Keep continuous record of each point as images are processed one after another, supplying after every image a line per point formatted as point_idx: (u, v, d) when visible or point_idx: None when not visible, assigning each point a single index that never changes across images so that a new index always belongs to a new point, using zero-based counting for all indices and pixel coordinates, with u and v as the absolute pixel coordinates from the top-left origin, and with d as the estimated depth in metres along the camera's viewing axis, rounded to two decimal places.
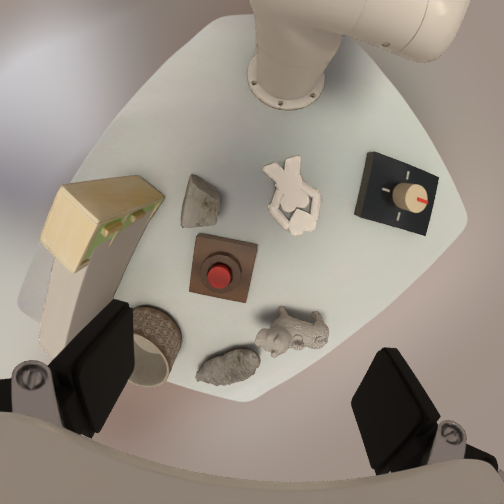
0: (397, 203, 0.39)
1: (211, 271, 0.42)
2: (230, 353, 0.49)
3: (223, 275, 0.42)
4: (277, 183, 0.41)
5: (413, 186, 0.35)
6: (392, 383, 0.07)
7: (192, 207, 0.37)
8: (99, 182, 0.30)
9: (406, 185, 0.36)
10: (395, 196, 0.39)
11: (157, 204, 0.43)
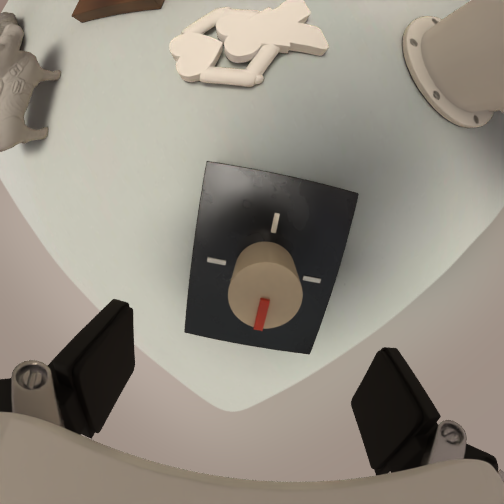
0: (246, 252, 0.19)
1: None
2: None
3: None
4: (271, 10, 0.15)
5: (297, 285, 0.16)
6: (392, 383, 0.07)
7: None
8: None
9: (294, 268, 0.17)
10: (262, 245, 0.18)
11: None
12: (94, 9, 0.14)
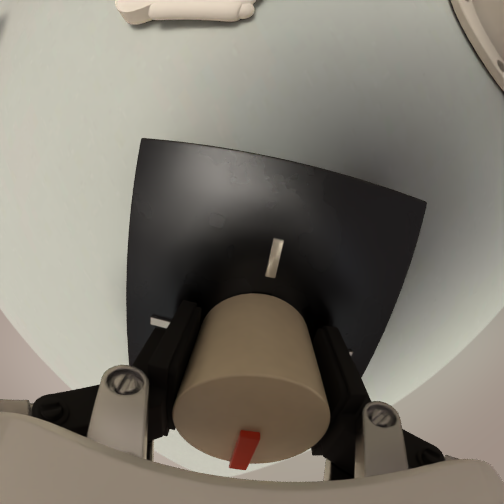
0: (215, 318, 0.09)
1: None
2: None
3: None
4: None
5: (320, 410, 0.06)
6: (325, 359, 0.08)
7: None
8: None
9: (314, 364, 0.07)
10: (246, 307, 0.09)
11: None
12: None
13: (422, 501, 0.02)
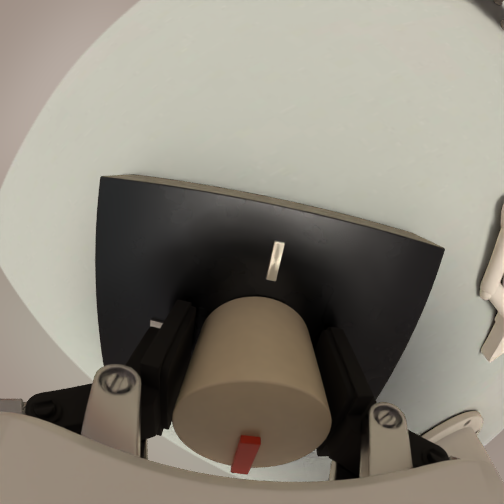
0: (214, 322, 0.09)
1: None
2: None
3: None
4: None
5: (321, 415, 0.06)
6: (330, 360, 0.08)
7: None
8: None
9: (314, 367, 0.07)
10: (246, 311, 0.09)
11: None
12: None
13: (422, 501, 0.02)
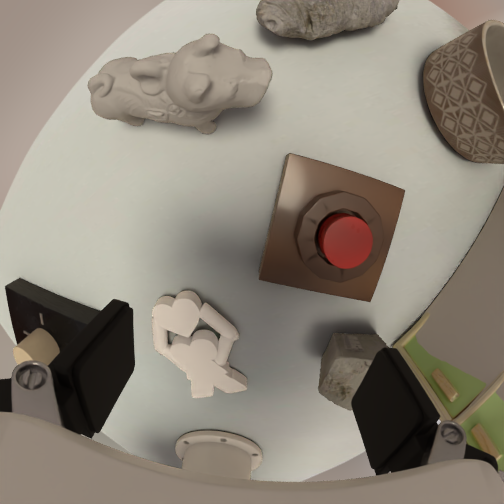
0: None
1: (362, 258, 0.18)
2: (327, 33, 0.16)
3: (338, 249, 0.18)
4: (223, 373, 0.25)
5: None
6: (392, 383, 0.07)
7: None
8: None
9: (39, 351, 0.20)
10: (34, 332, 0.22)
11: (406, 341, 0.24)
12: (280, 194, 0.20)
13: (422, 501, 0.02)
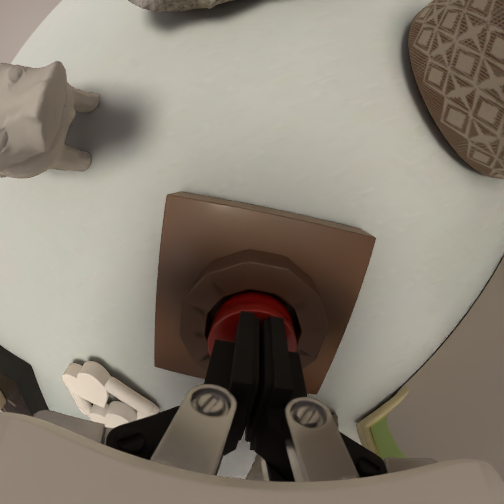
0: None
1: None
2: None
3: None
4: None
5: None
6: (262, 349, 0.08)
7: None
8: None
9: None
10: None
11: (374, 422, 0.17)
12: (159, 260, 0.13)
13: (422, 501, 0.02)
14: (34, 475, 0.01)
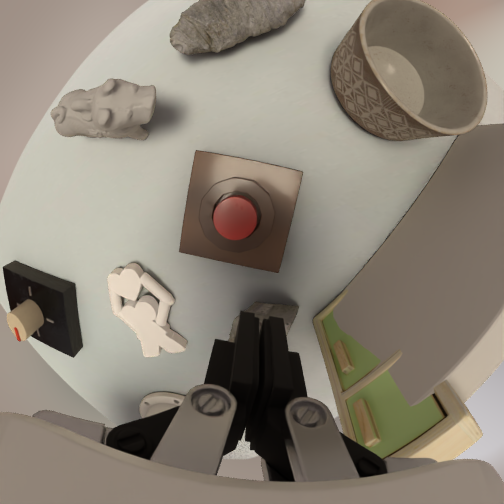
0: None
1: (248, 231, 0.22)
2: (229, 44, 0.20)
3: (225, 223, 0.22)
4: (163, 333, 0.30)
5: (21, 324, 0.25)
6: (262, 349, 0.08)
7: None
8: None
9: (26, 316, 0.26)
10: (24, 302, 0.27)
11: (324, 315, 0.29)
12: None
13: (422, 501, 0.02)
14: (34, 475, 0.01)
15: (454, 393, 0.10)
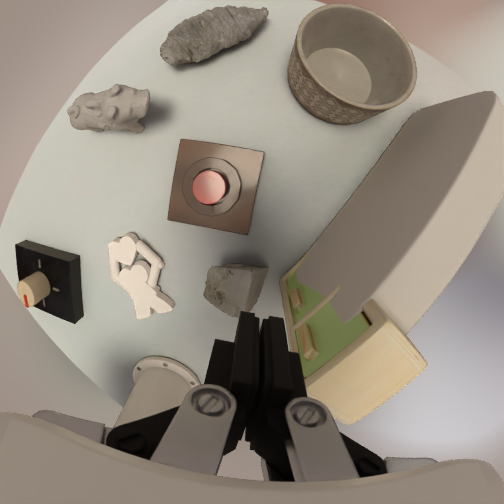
0: None
1: (219, 197, 0.28)
2: (206, 56, 0.26)
3: (201, 191, 0.28)
4: (154, 293, 0.36)
5: (30, 290, 0.30)
6: (262, 349, 0.08)
7: (237, 294, 0.29)
8: None
9: (35, 284, 0.31)
10: (33, 273, 0.33)
11: (289, 275, 0.35)
12: (176, 164, 0.30)
13: (422, 501, 0.02)
14: (34, 475, 0.01)
15: (378, 306, 0.16)
